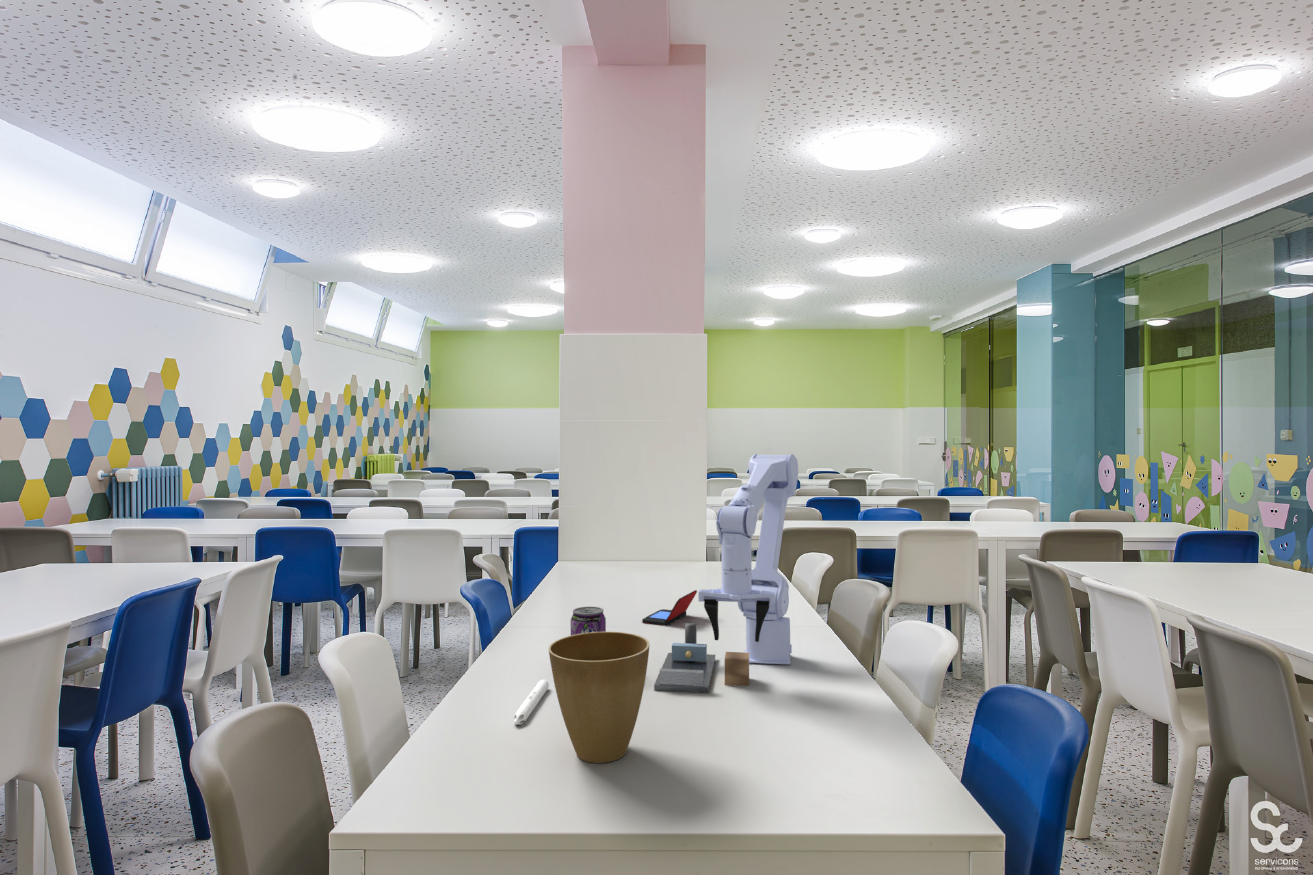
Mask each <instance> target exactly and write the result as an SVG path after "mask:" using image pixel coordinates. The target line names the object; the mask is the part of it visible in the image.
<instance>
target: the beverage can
mask: <svg viewBox="0 0 1313 875" xmlns="http://www.w3.org/2000/svg"><path fill="white" fill-rule="evenodd" d="M606 619H607V618H606V616H605V614H604V608H602V607H598V606H581V607H576V608H574V609H572V616H571V617H570V636H571V635H576V634H582V633H589V632H607V629H606V627H607V625H606V624H607V622H606Z"/></svg>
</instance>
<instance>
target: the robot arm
mask: <svg viewBox="0 0 1313 875" xmlns="http://www.w3.org/2000/svg"><path fill="white" fill-rule="evenodd" d="M748 474H749V478H748V481H747V483H746V484H742V485H741V486H740V487H739V488H738V489H737V491H736V493H735V494H734V495H733V497H732V499H731V500H730V502H729V504H728V505H724V506H723V507H721V508H720V509H719V510H718V512H717V514H716V521H715V522H716V523H715V525H716V530H717V534H718V542H719V545H720V546H721V588H713V589H710V588H709V589H699V590H698V603H699V602H700V603H701V602H702V603H703V608H704V610H705V612H706V614H707V616H708V619H709V622H710V624H711V628H712V631H713V636H714V637H713V638H714V641H719V640H720V639H719V638H720V628H719V627H720V626H719V602H729V603H731V602H733V603H735V602H736V603H737V607H738V609H739V611H740V612H741V613H743V614H742V616H743V617H745V647H746V648H745V650H744V652H745V653H749V664H766V665H767V664H768V665H769V664H770V665H771V664H772V665H791V654H792V652H793V651H792V650H793V648H792V645H793V644H791V619H790V617H788V616H785V615H786V614H787V612H788V609H789V606H790V605H789V603H790V595H789V589H790V585H789V582H788V581H787V578H785V577H784V575H782V574H781V573H780V572H779V571H778V569H779V561H780V554H781V547H782V540H783V532H784V525H785V518H786V510H787V504H788V500H789V498H791V497H793V496H794V495H796V490H797V486H798V478H799V464H798V459H797V457H796V456H795V454H793V453H790V454H757V453H754V454H752V456H751V457H750V459H749V461H748ZM762 507H763V511H762V517H761V525H760V532H759V536H758V537H759V538H758V545H757V550H756V551H757V552H756V558H755V565H754V568H752V537H753V535H754V534H755V532H756V528H757V522H758V514H759V512H760V510H761V508H762Z"/></svg>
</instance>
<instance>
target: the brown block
mask: <svg viewBox="0 0 1313 875" xmlns="http://www.w3.org/2000/svg"><path fill="white" fill-rule="evenodd" d="M724 685H725V686H737V687H738V686H739V687H749V686H750V663H749V653H745V651H744V652H741V651H740V652H737V651H736V652H735V651H725V654H724Z"/></svg>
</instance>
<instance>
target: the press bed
mask: <svg viewBox="0 0 1313 875" xmlns="http://www.w3.org/2000/svg"><path fill="white" fill-rule="evenodd" d="M715 662H716V654H710V653H709V654H708V653H707V660H706V662H700V661H677V660H672V652H668V653H667V655H666V658H665V660H664V662H663V664H662V667H661V668H660V669H659V673H658V675H657V678H656V680H655V682H654V684H653V691H660V692H661V691H662V692H663V691H664V692H682V693H683V692H686V693H701V694H702V693H704V694H709V691H710V687H711V681H712V677H713V672H714V669H715V664H716V663H715Z"/></svg>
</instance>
